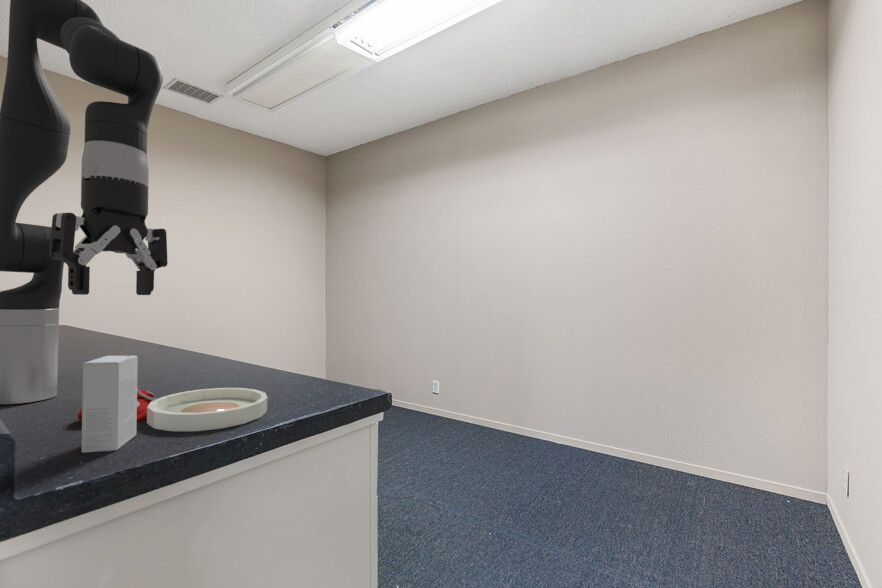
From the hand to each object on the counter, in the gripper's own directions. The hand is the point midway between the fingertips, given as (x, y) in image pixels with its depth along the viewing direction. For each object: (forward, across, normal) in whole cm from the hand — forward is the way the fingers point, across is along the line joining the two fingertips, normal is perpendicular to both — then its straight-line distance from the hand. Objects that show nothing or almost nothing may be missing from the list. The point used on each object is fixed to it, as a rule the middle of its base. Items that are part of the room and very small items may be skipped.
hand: (114, 294), depth 59 cm
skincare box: (+21, +1, +1) cm, 21 cm away
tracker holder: (+21, -10, -10) cm, 25 cm away
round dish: (+21, -15, +2) cm, 26 cm away
